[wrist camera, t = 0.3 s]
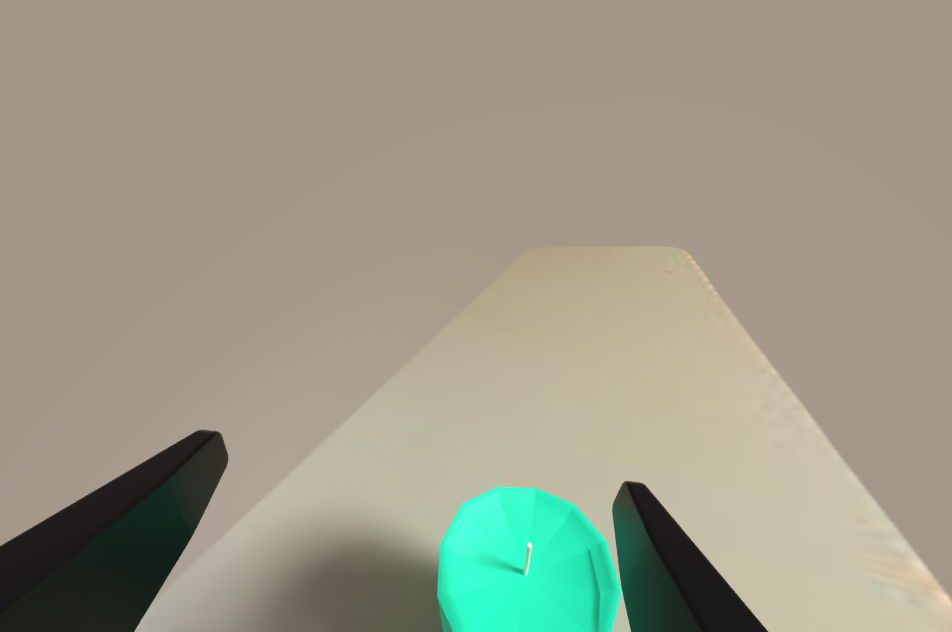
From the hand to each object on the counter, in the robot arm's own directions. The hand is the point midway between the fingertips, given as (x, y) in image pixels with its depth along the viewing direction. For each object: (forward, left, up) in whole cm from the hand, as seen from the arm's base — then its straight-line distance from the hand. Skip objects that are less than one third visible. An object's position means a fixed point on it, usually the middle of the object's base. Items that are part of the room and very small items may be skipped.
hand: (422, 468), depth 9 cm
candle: (+1, -3, -17) cm, 17 cm away
